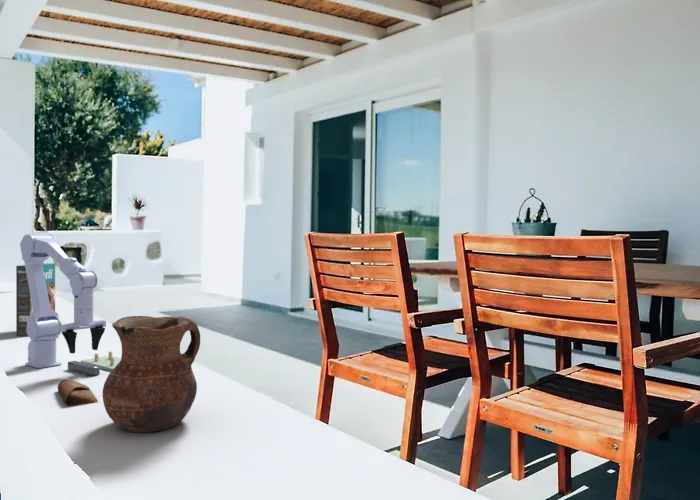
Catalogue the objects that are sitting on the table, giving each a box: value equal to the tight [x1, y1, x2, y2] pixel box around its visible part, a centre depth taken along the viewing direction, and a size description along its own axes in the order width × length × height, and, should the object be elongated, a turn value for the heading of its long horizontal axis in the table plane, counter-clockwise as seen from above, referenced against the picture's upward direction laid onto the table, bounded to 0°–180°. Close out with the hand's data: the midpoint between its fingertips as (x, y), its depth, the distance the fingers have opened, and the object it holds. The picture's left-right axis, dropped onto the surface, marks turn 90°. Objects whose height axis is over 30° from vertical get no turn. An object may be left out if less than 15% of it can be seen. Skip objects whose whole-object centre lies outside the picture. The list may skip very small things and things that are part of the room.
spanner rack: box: [80, 350, 121, 372], centre depth 214 cm, size 20×11×4 cm, turn 52°
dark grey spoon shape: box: [67, 360, 101, 378], centre depth 202 cm, size 15×4×3 cm, turn 52°
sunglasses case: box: [57, 378, 99, 407], centre depth 173 cm, size 18×7×7 cm, turn 32°
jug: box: [102, 315, 201, 434], centre depth 150 cm, size 22×21×25 cm
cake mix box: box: [15, 262, 56, 337], centre depth 279 cm, size 22×6×30 cm, turn 179°
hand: (83, 351), depth 202 cm, fingers open, 7 cm apart
